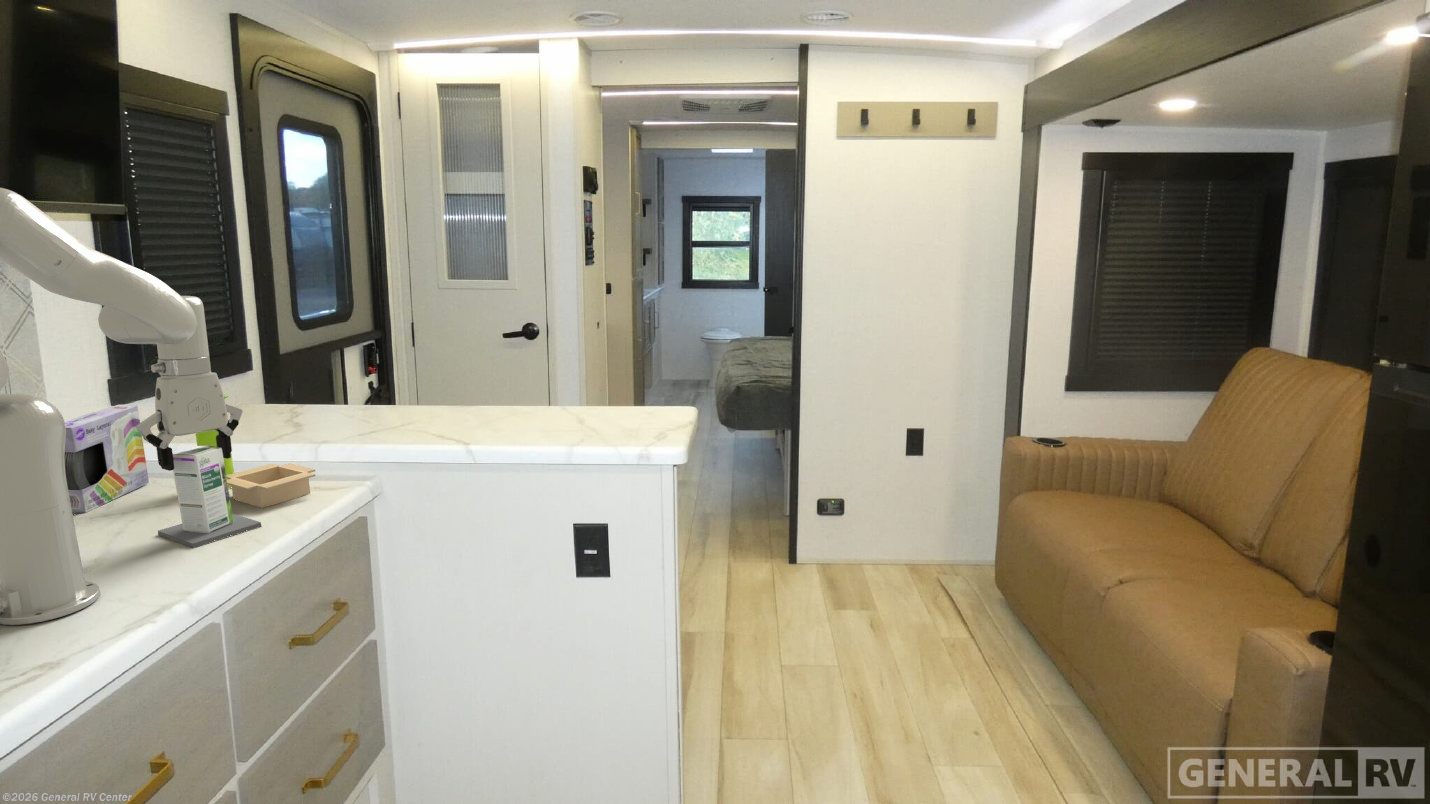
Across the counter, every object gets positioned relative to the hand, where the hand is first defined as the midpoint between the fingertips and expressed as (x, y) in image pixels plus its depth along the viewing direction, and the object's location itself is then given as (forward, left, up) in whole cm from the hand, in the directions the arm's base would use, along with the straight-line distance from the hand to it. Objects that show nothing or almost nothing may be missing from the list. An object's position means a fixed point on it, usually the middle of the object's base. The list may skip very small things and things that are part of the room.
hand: (197, 463), depth 151 cm
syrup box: (0, 0, -12) cm, 12 cm away
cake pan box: (0, +37, -13) cm, 40 cm away
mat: (+1, 0, -13) cm, 13 cm away
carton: (+18, +9, -13) cm, 24 cm away
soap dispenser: (+16, +24, -13) cm, 32 cm away
